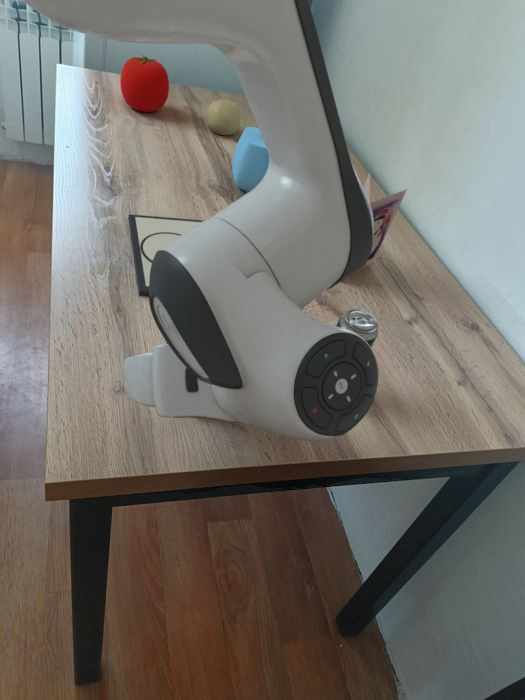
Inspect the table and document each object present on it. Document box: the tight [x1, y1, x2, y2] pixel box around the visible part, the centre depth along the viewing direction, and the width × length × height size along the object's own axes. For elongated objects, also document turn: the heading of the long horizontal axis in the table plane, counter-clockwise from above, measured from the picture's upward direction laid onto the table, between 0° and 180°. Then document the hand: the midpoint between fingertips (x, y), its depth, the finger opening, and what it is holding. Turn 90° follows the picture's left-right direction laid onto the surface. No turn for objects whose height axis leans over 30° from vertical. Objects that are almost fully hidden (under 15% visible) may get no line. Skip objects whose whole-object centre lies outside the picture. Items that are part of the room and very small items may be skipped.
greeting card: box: [361, 172, 408, 269], centre depth 91 cm, size 11×7×15 cm, turn 136°
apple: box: [205, 98, 242, 136], centre depth 122 cm, size 8×8×8 cm
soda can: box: [335, 308, 379, 348], centre depth 69 cm, size 5×5×12 cm
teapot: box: [231, 126, 270, 193], centre depth 107 cm, size 12×18×12 cm
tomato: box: [119, 54, 170, 113], centre depth 119 cm, size 10×11×11 cm
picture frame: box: [127, 213, 204, 297], centre depth 86 cm, size 16×20×1 cm
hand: (204, 367), depth 62 cm, fingers closed on pill bottle, 5 cm apart
